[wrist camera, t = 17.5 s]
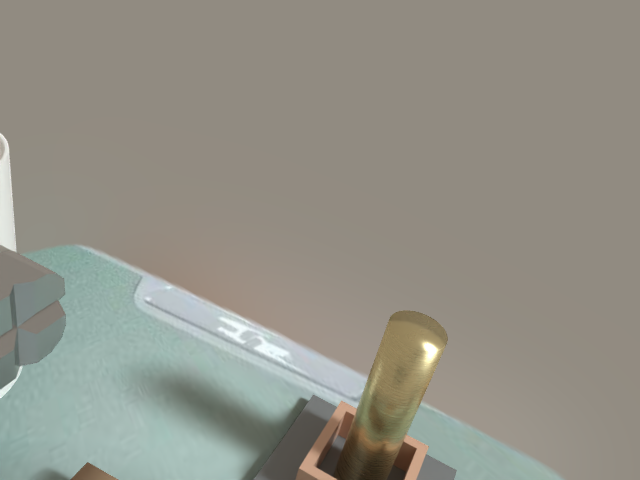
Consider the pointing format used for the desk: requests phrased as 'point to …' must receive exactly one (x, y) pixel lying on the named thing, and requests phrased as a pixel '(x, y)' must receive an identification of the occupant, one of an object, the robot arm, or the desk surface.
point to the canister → (6, 216)
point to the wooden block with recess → (92, 473)
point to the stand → (339, 449)
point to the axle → (391, 395)
